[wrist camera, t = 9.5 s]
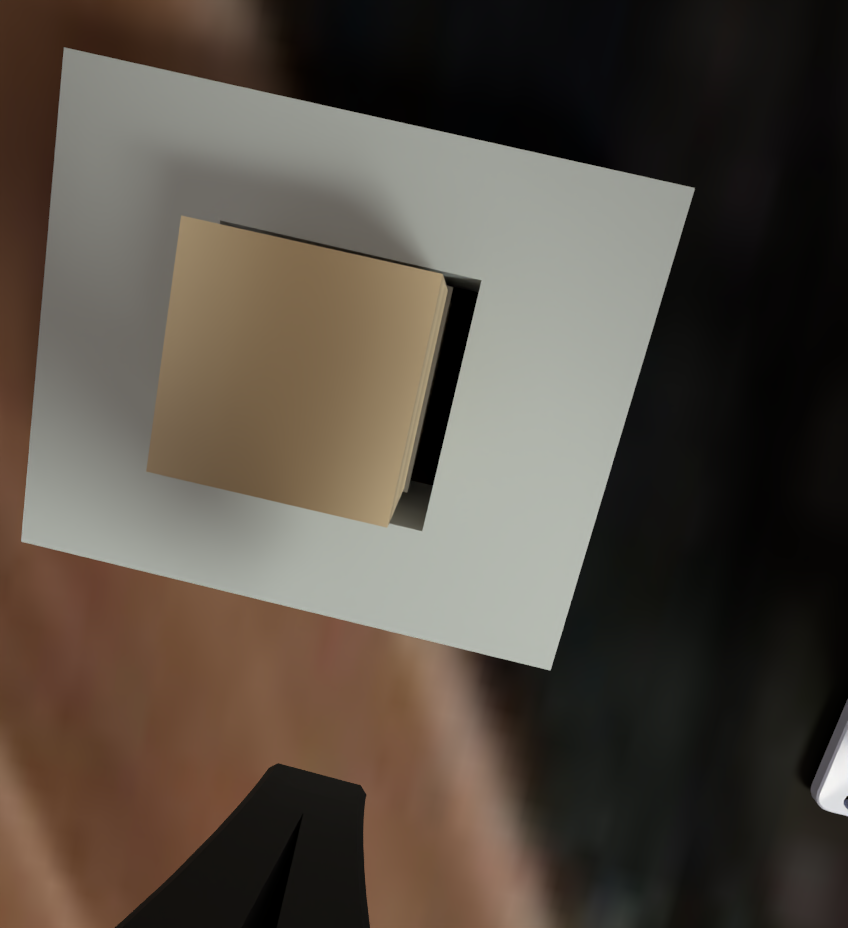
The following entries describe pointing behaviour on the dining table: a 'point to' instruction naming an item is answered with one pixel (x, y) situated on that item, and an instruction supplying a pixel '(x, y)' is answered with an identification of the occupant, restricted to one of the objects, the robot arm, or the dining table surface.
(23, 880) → the dining table surface
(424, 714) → the dining table surface
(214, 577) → the socket block
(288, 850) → the robot arm
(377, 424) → the peg
